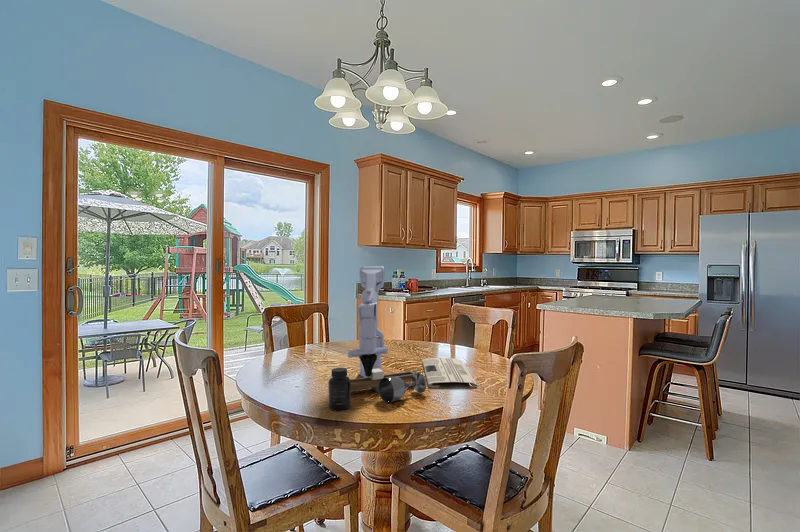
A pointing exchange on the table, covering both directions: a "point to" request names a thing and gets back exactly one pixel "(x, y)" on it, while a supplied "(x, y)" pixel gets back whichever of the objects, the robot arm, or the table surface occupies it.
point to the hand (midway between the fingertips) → (368, 375)
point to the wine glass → (399, 387)
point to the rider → (377, 374)
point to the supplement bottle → (339, 390)
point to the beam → (368, 383)
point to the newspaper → (446, 371)
